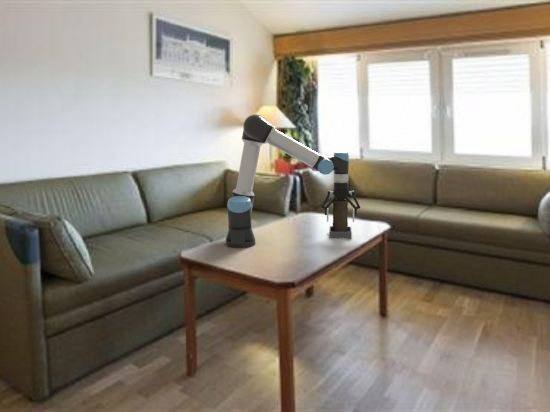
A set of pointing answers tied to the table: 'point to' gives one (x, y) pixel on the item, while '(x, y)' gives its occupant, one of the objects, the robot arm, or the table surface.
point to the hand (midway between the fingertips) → (340, 221)
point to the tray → (340, 233)
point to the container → (340, 215)
